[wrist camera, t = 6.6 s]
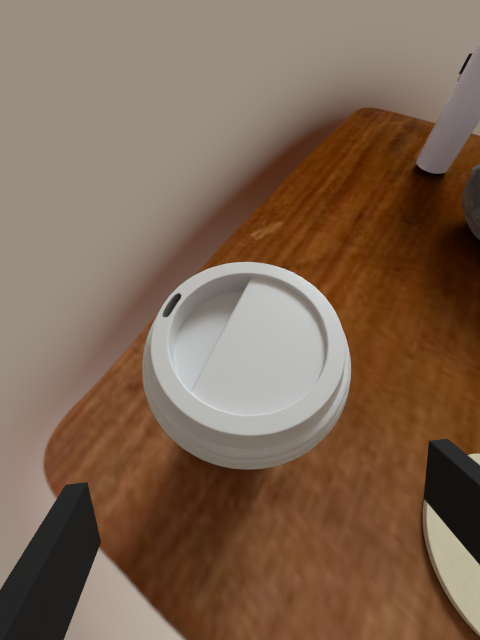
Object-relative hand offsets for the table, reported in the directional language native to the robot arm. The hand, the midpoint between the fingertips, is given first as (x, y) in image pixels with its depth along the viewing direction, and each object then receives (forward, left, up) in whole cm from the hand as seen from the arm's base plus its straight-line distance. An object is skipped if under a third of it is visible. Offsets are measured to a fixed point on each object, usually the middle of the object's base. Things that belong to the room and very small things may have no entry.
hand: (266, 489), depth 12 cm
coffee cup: (+1, +5, -13) cm, 14 cm away
